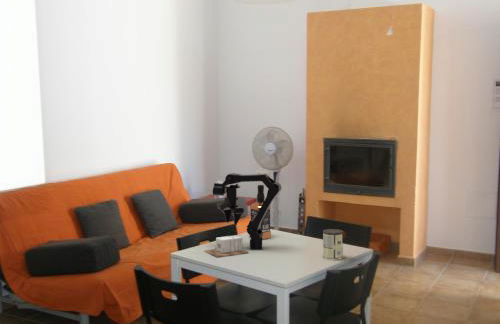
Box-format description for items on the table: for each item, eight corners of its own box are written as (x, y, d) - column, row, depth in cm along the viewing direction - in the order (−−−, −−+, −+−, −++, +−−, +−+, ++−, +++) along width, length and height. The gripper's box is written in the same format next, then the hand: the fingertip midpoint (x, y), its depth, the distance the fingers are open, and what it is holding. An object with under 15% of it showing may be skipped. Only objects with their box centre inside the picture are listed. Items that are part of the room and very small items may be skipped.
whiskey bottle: (261, 235, 334) (261, 183, 332) (272, 237, 326) (272, 185, 324) (248, 237, 327) (248, 184, 325) (259, 240, 320) (259, 186, 317)
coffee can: (327, 254, 288) (327, 228, 287) (345, 256, 283) (346, 230, 282) (319, 258, 279) (319, 231, 278) (338, 261, 274) (338, 233, 273)
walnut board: (234, 247, 302) (234, 246, 301) (248, 253, 289) (248, 252, 289) (204, 251, 292) (204, 250, 292) (216, 257, 279) (216, 256, 279)
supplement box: (215, 237, 290) (235, 234, 297) (215, 250, 291) (235, 248, 298) (222, 239, 284) (243, 237, 291) (222, 253, 285) (242, 250, 292)
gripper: (210, 194, 305) (210, 222, 307) (226, 199, 289) (226, 227, 291) (228, 193, 311) (228, 220, 312) (244, 197, 295) (244, 226, 296)
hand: (231, 223), depth 303 cm, fingers open, 9 cm apart
